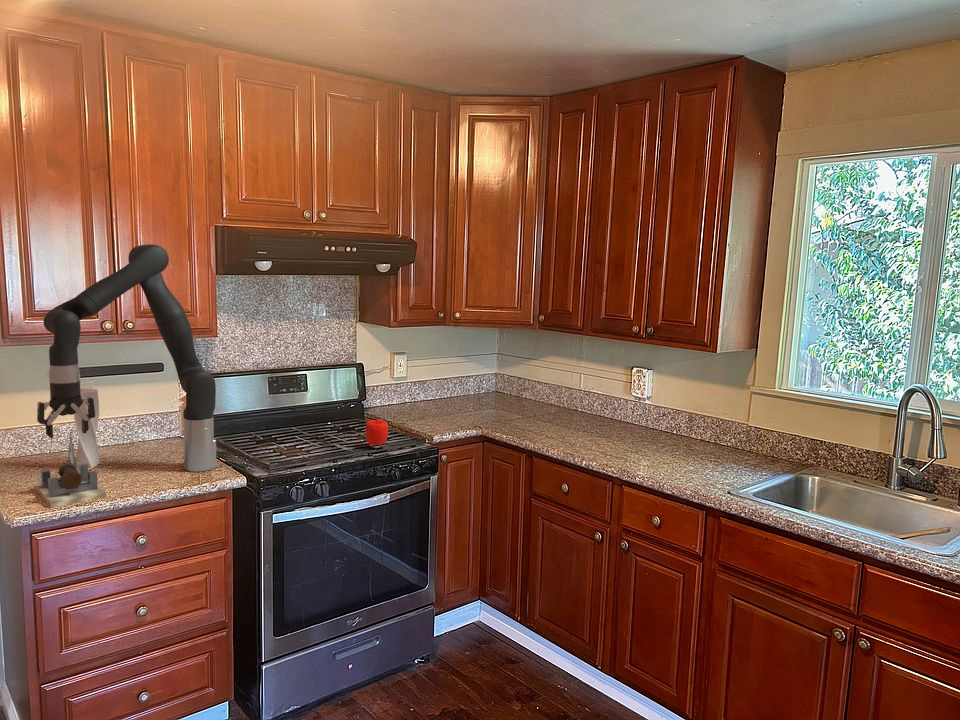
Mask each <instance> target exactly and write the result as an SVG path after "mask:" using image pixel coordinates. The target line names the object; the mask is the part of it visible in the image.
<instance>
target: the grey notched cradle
mask: <svg viewBox="0 0 960 720" xmlns="http://www.w3.org/2000/svg"><path fill="white" fill-rule="evenodd" d="M78 472H79V474H80V475H81V476H82V477H83V480H82V482H85V483H81V484H80V485H79V487H78V488H75V489H65V488H64V487H63V486H62V484H61V483H60V482H59V480H60V478H61V476H60V477H56V476H54V477H51V470H50V469H49V468H47V469H42V470H40V480H41V481H40V483H41V487H42V488H43V489H45V488H49V496H50V497H55V496H61V495H67V494H73V493H78V492H84V491H90V490H96V489H98V486H99V485H98V472H97V471H96V470H91V471H90V470H88V465H87V464H81V465H79V470H78ZM58 486H61V487H58Z"/></svg>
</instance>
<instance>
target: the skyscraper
mask: <svg viewBox="0 0 960 720" xmlns="http://www.w3.org/2000/svg"><path fill="white" fill-rule="evenodd" d="M86 384H91V386H90V387H87V386H86V387H80V389H81V398H82V399H84V398H87V397H91V398H93V400H94V408H95V417H94V418H91V419H89V421H88V425H89V430H88V431H87V433H82V423H81V420H82V418H81V417H80V416H79V415H78V414H77V413H75V414H73V418H74V424H75V429H76V433H77V437H78V440H77V449H76V450H77V452H76V458H75V451H74V449H75V444H73V436H72V431H69V444H68V458H67V459H68V464H73V465H74V466H75V465H76V466H75V467H76V468H77V469H78V471H79V465H81V464H87V465H88V468H93V467H94V466H96V465H98V464H100V463H101V458H100V457H101V455H100V451H99V444H98V439H97V431H98V426H99V419H100V399H99V391H98V389H96V388H93V387H94V384H95V382H94V381H84V382H82V383H81V382H80V386H82V385H86ZM79 409H80V410H81V411H82V412H83V413H84V414H85V415H87V414H88V406H87V405H85V403H84V402H83V403H82V405H81V406H80V408H79ZM75 460H76V464H75ZM100 465H101V464H100ZM98 466H99V465H98ZM93 469H94V468H93Z"/></svg>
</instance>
